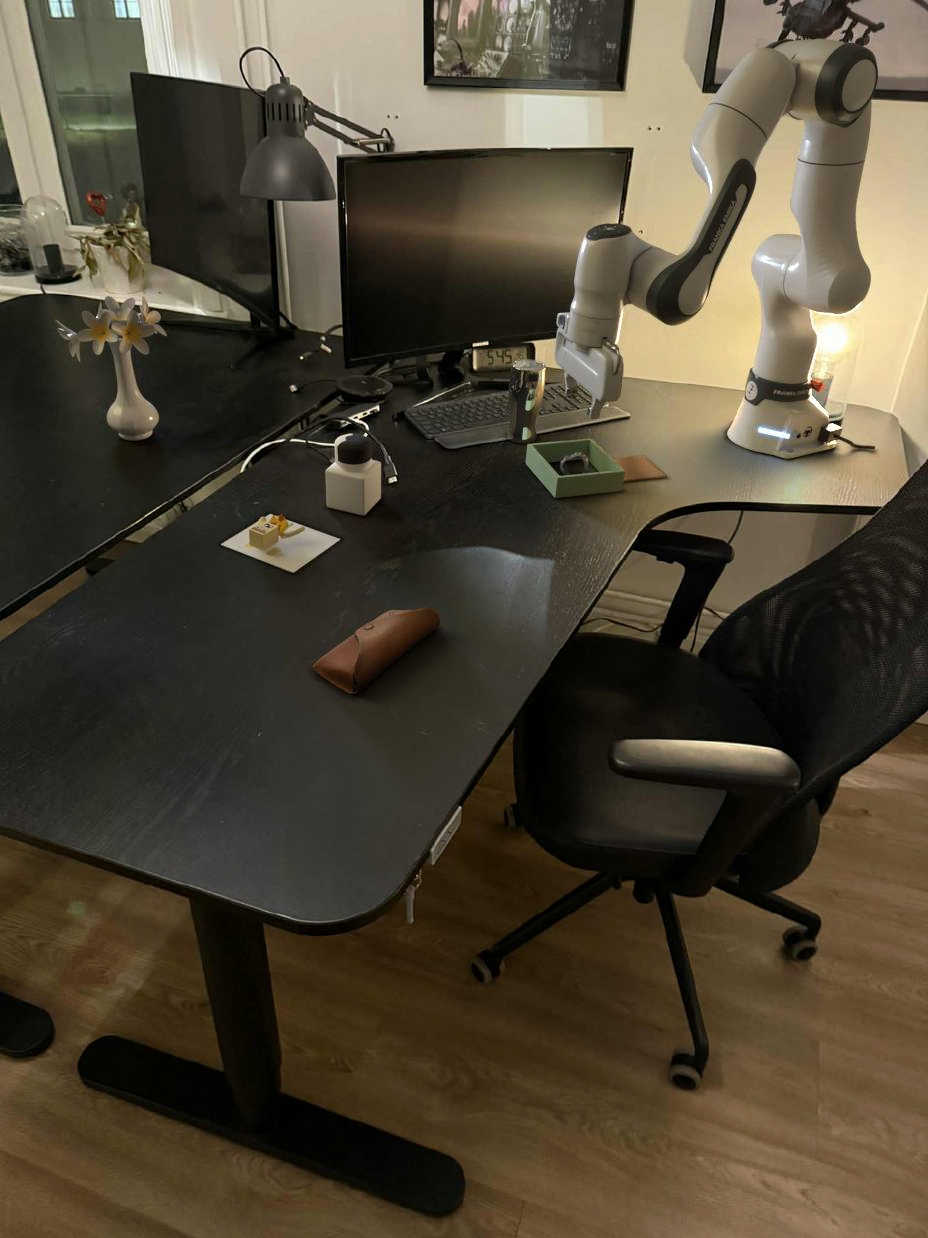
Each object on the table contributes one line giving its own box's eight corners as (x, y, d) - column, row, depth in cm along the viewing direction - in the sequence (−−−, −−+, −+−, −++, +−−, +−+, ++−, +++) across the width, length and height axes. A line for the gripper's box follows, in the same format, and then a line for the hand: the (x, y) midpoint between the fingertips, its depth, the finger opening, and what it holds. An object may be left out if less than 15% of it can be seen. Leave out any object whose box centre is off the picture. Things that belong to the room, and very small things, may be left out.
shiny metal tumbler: (536, 446, 172) (544, 373, 163) (501, 441, 173) (508, 368, 164) (540, 432, 177) (549, 361, 169) (507, 428, 178) (514, 356, 169)
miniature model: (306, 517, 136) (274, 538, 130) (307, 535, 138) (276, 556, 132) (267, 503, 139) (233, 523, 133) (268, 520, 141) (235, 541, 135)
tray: (588, 457, 169) (591, 438, 167) (621, 490, 158) (625, 471, 156) (525, 463, 165) (527, 443, 163) (555, 498, 154) (557, 477, 152)
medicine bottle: (381, 498, 151) (381, 434, 143) (364, 516, 145) (363, 451, 138) (344, 490, 152) (342, 426, 145) (326, 507, 147) (323, 442, 140)
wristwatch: (574, 479, 164) (558, 459, 162) (596, 467, 161) (580, 446, 159) (570, 487, 162) (555, 467, 160) (593, 475, 159) (577, 455, 157)
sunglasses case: (391, 605, 124) (412, 580, 119) (425, 641, 123) (447, 617, 118) (307, 669, 111) (325, 644, 106) (344, 709, 111) (364, 685, 106)
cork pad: (642, 457, 171) (642, 455, 170) (665, 477, 164) (665, 475, 164) (601, 461, 168) (601, 459, 168) (622, 482, 161) (623, 480, 161)
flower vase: (70, 438, 162) (40, 302, 148) (156, 412, 174) (136, 284, 159) (108, 461, 156) (80, 321, 141) (195, 433, 168) (177, 301, 153)
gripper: (639, 348, 139) (624, 429, 147) (585, 310, 154) (574, 385, 162) (604, 350, 137) (590, 431, 145) (553, 311, 152) (543, 387, 160)
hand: (581, 407), depth 154 cm, fingers open, 8 cm apart
